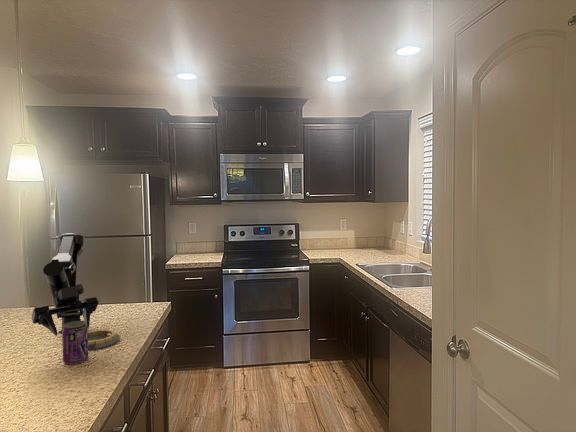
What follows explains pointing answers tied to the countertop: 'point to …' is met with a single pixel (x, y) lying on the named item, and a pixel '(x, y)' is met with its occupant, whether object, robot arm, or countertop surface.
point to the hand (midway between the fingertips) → (72, 331)
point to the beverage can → (75, 342)
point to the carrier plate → (97, 337)
